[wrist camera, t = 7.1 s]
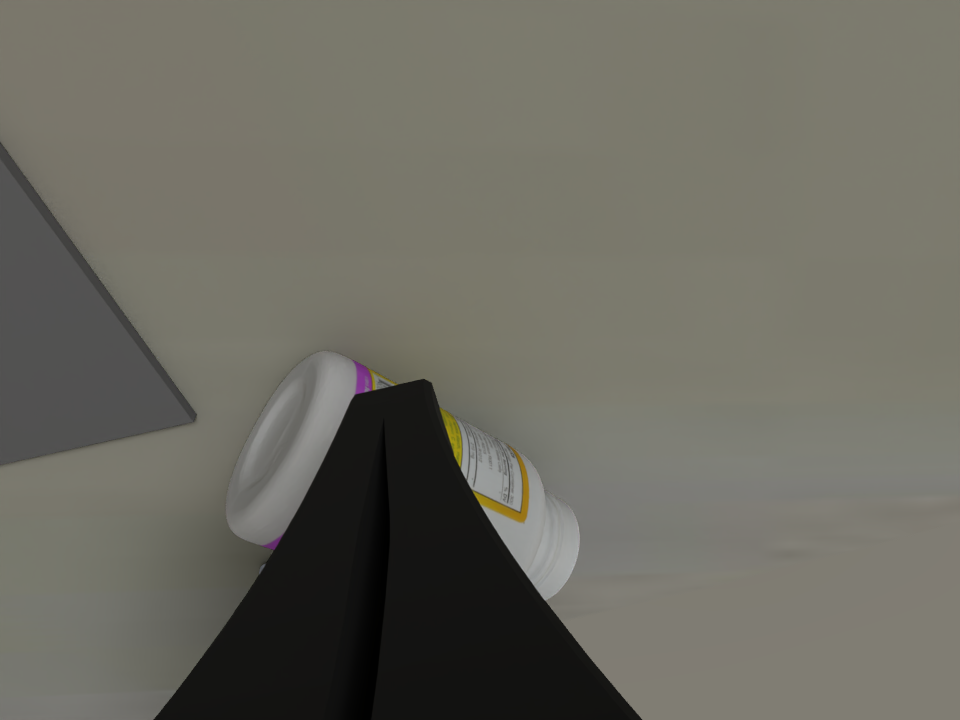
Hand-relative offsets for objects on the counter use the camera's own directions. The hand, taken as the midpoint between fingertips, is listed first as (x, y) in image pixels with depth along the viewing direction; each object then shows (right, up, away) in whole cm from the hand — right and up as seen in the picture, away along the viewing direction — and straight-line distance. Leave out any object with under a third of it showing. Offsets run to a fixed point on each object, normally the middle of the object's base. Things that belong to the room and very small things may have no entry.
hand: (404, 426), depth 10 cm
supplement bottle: (-6, -1, +8) cm, 10 cm away
